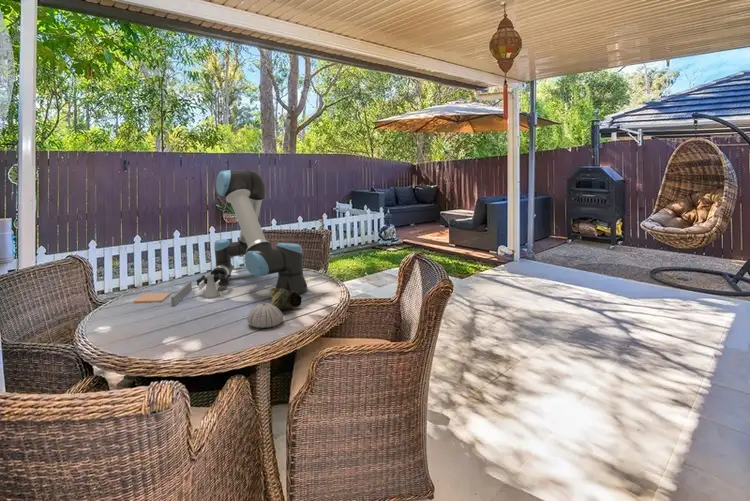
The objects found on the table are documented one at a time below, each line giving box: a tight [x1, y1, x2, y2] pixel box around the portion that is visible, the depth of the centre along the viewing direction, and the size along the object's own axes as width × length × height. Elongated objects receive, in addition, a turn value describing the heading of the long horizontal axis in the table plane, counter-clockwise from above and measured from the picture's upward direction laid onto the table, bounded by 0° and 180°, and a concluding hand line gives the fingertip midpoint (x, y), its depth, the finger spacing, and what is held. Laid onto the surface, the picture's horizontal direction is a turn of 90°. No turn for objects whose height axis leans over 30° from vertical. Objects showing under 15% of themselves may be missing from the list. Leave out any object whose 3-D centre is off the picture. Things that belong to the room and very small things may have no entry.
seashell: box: [269, 287, 303, 311], centre depth 184 cm, size 11×11×10 cm
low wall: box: [170, 281, 193, 307], centre depth 204 cm, size 26×1×4 cm, turn 7°
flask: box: [202, 274, 221, 299], centre depth 205 cm, size 7×7×10 cm
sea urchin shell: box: [246, 302, 284, 329], centre depth 169 cm, size 13×14×8 cm
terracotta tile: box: [132, 292, 172, 304], centre depth 203 cm, size 12×12×1 cm
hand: (208, 286), depth 200 cm, fingers open, 6 cm apart
